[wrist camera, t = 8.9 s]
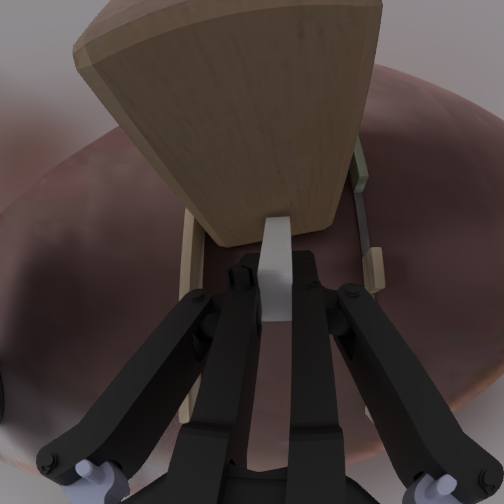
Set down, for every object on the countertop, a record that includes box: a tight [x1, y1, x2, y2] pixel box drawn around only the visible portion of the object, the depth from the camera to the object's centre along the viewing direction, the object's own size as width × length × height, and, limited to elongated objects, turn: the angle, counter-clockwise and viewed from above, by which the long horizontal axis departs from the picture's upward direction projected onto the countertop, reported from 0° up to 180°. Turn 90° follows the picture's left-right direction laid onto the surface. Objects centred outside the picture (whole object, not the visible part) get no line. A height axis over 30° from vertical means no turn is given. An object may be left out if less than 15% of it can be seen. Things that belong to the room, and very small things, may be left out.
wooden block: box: [73, 0, 383, 248], centre depth 15 cm, size 10×10×20 cm
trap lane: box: [179, 135, 386, 423], centre depth 20 cm, size 15×26×5 cm, turn 0°
